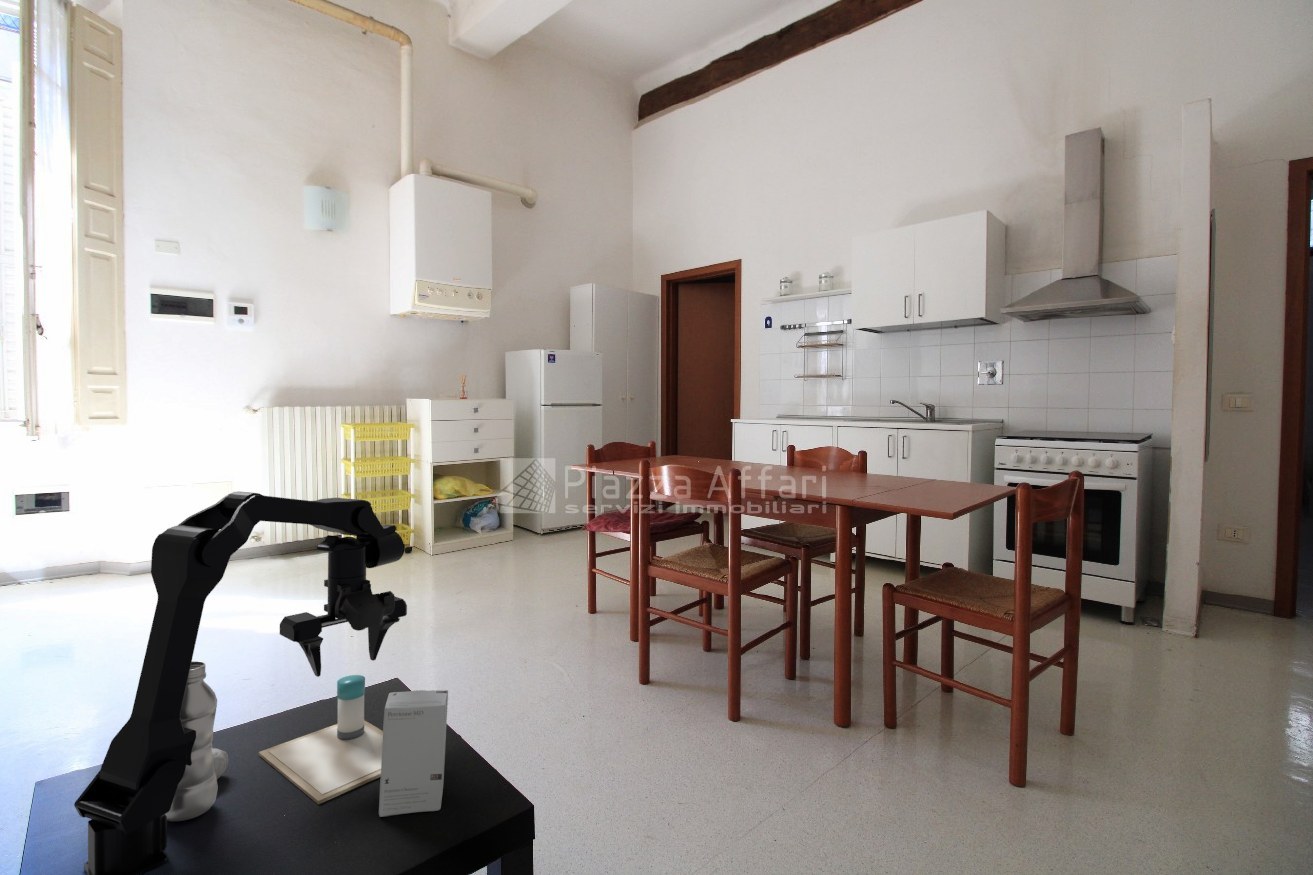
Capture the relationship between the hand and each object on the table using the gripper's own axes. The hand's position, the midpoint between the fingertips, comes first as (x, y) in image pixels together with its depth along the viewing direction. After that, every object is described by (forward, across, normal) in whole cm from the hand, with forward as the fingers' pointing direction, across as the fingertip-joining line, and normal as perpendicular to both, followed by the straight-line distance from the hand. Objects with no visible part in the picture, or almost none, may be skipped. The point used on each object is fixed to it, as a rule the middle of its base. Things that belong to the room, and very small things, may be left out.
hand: (346, 667), depth 107 cm
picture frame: (+12, -3, -5) cm, 13 cm away
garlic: (+12, -19, +3) cm, 23 cm away
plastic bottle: (+12, -23, -4) cm, 27 cm away
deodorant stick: (+11, +1, 0) cm, 11 cm away
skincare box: (+12, -2, -24) cm, 27 cm away
